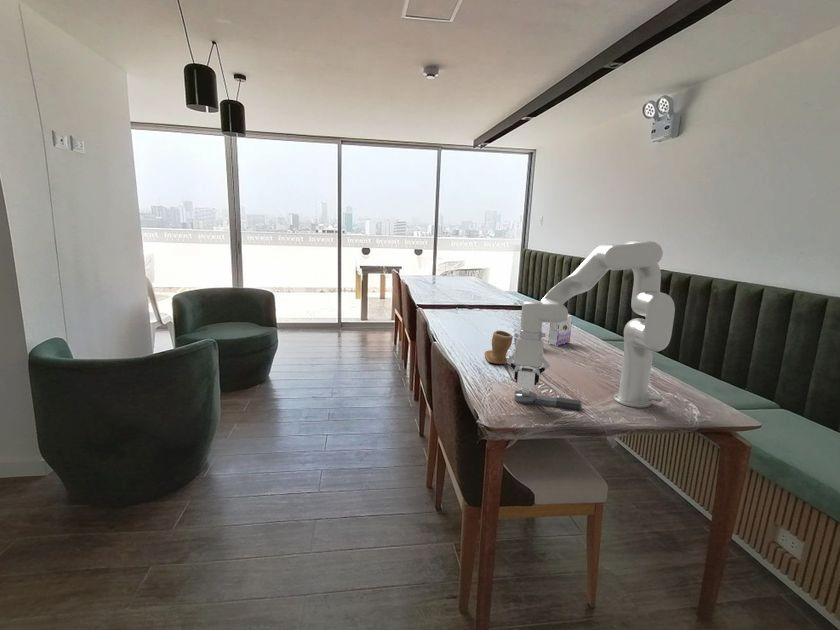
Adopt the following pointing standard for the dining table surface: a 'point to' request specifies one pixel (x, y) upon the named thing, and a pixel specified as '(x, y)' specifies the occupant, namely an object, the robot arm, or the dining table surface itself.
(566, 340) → the candy box
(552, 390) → the dining table surface
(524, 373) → the socket
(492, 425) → the dining table surface
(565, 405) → the ratchet
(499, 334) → the tan boot
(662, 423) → the dining table surface
